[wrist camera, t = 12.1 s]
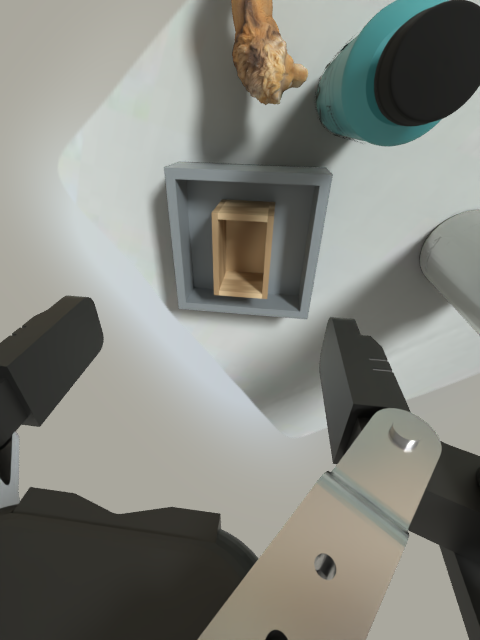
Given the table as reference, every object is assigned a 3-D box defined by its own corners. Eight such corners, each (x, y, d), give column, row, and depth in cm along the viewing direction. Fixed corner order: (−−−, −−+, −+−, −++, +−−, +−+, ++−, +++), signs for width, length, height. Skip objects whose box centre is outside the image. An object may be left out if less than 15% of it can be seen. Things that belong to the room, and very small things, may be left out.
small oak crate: (275, 201, 33) (274, 216, 28) (269, 276, 38) (267, 299, 33) (221, 199, 34) (211, 212, 29) (222, 272, 39) (213, 294, 34)
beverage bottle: (336, 36, 26) (430, -110, 10) (401, 73, 27) (590, -4, 10) (299, 119, 30) (322, 116, 13) (358, 149, 31) (447, 182, 14)
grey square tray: (326, 167, 32) (332, 174, 28) (304, 299, 41) (307, 319, 37) (178, 161, 33) (163, 167, 29) (188, 290, 42) (178, 308, 38)
